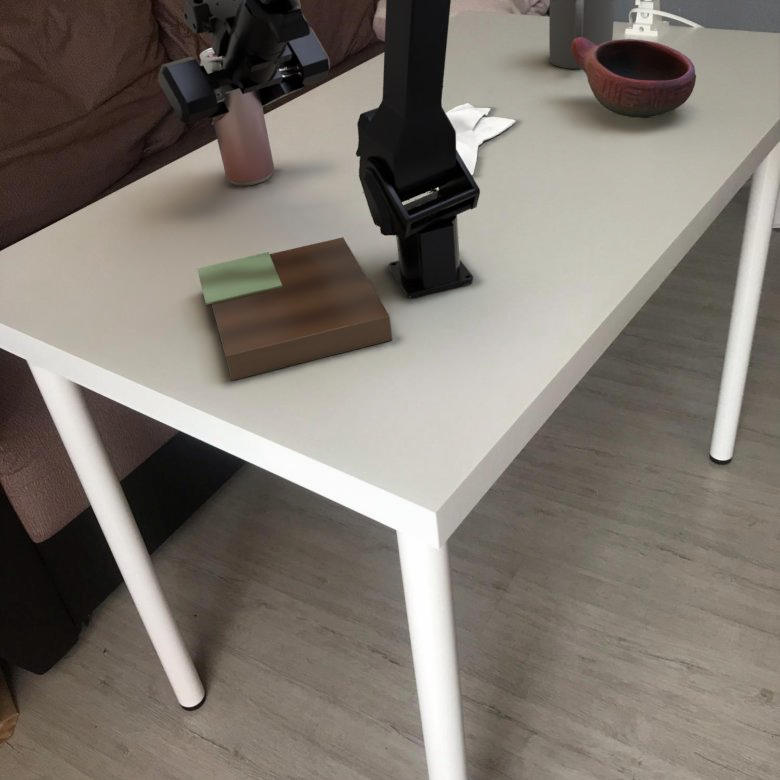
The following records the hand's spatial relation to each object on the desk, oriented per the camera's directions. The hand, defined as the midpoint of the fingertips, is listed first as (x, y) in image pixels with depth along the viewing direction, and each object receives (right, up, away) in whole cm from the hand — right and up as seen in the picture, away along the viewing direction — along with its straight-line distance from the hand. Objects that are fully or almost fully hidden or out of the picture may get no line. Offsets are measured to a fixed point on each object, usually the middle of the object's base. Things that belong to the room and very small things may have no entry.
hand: (233, 113), depth 102 cm
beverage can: (+2, -7, +4) cm, 8 cm away
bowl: (+49, +2, +8) cm, 49 cm away
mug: (+46, +15, +25) cm, 55 cm away
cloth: (+25, -2, +5) cm, 26 cm away
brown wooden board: (+10, -26, -23) cm, 36 cm away
